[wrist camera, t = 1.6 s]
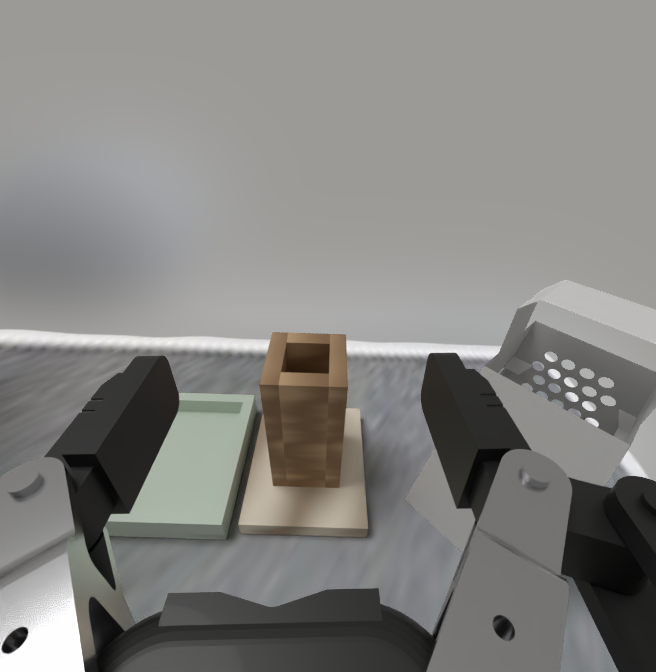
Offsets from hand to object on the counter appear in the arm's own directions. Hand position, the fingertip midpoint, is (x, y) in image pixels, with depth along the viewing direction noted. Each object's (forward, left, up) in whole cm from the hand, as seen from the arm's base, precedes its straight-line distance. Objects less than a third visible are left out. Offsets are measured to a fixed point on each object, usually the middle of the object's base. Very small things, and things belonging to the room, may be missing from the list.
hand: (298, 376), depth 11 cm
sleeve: (-1, +10, -20) cm, 23 cm away
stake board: (-1, +10, -22) cm, 24 cm away
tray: (-12, +10, -22) cm, 27 cm away
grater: (+15, +7, -22) cm, 28 cm away
